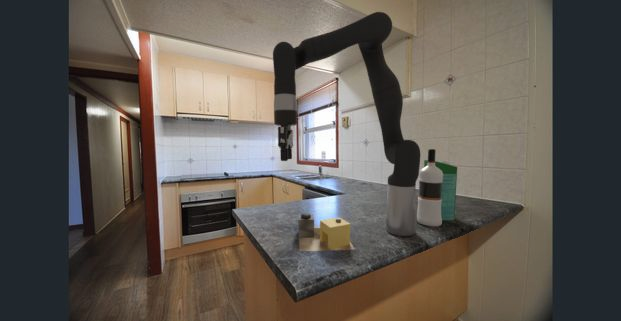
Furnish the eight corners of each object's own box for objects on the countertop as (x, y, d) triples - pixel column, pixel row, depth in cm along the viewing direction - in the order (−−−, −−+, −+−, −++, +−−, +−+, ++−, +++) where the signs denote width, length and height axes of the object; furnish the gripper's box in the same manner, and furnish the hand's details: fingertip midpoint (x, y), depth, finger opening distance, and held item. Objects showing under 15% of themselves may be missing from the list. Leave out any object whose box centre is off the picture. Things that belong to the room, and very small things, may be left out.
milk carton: (454, 220, 87) (457, 161, 85) (432, 220, 87) (435, 161, 85) (441, 213, 96) (444, 159, 94) (421, 213, 96) (424, 159, 94)
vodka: (410, 221, 86) (413, 148, 84) (424, 217, 90) (428, 148, 88) (432, 229, 78) (436, 149, 76) (447, 225, 82) (451, 149, 80)
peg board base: (341, 230, 76) (342, 209, 75) (354, 253, 60) (355, 226, 59) (298, 232, 74) (298, 210, 74) (299, 255, 58) (299, 228, 58)
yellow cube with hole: (338, 236, 68) (339, 215, 68) (350, 244, 62) (350, 221, 62) (320, 240, 65) (320, 218, 65) (329, 249, 60) (330, 225, 59)
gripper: (294, 106, 60) (295, 161, 61) (299, 113, 74) (300, 158, 75) (268, 106, 61) (270, 161, 62) (278, 113, 75) (279, 158, 76)
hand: (286, 159), depth 69 cm, fingers open, 8 cm apart
